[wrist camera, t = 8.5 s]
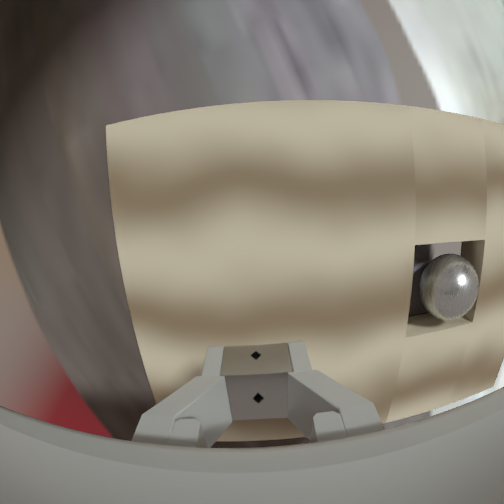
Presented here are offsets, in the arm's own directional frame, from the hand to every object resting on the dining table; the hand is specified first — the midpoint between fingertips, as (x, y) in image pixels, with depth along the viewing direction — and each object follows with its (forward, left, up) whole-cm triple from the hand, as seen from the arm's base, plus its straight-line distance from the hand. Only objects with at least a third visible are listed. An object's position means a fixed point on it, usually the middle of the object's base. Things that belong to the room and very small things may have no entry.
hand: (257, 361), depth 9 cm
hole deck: (+1, +6, -8) cm, 10 cm away
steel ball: (+1, +12, -6) cm, 13 cm away
